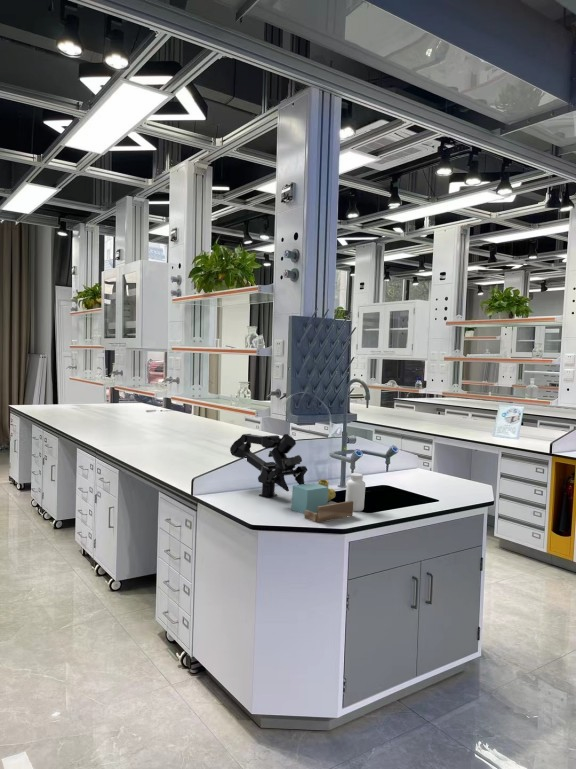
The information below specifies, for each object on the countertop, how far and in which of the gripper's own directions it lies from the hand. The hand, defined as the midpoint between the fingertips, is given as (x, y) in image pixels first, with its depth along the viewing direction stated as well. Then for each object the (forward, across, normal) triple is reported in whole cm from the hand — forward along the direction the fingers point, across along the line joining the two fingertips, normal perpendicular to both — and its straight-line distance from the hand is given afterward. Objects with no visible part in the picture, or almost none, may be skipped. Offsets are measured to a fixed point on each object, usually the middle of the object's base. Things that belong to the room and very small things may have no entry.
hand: (296, 489), depth 242 cm
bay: (+19, 0, -10) cm, 21 cm away
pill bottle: (+17, +19, -7) cm, 26 cm away
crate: (+11, 0, -2) cm, 11 cm away
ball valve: (+4, +15, +6) cm, 17 cm away
